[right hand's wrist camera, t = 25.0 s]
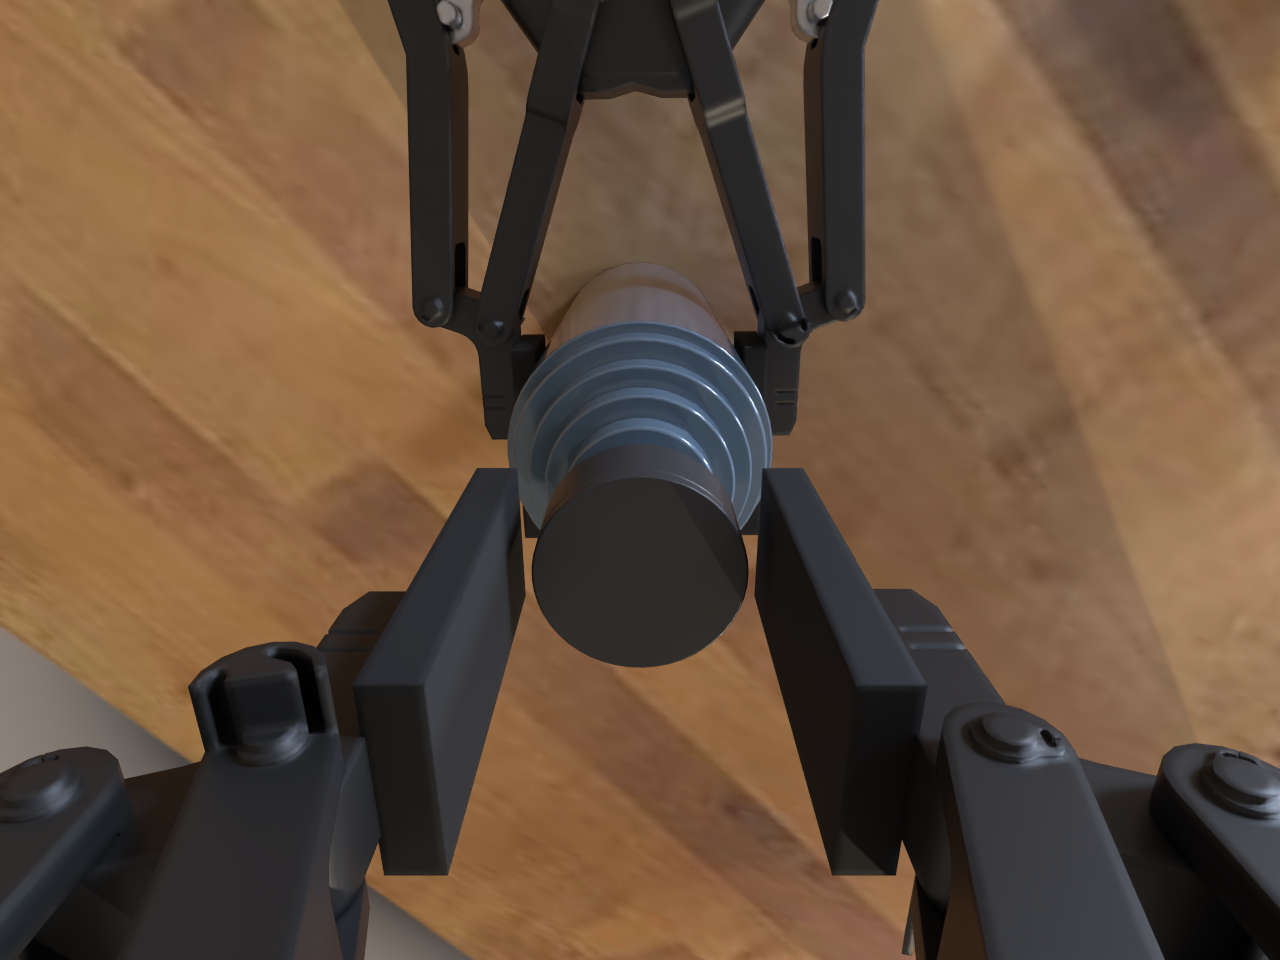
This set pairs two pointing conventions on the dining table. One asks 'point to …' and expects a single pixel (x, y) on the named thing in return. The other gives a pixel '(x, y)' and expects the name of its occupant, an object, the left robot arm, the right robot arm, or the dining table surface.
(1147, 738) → the dining table surface
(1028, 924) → the right robot arm
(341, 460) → the dining table surface
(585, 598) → the cap
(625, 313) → the bottle
